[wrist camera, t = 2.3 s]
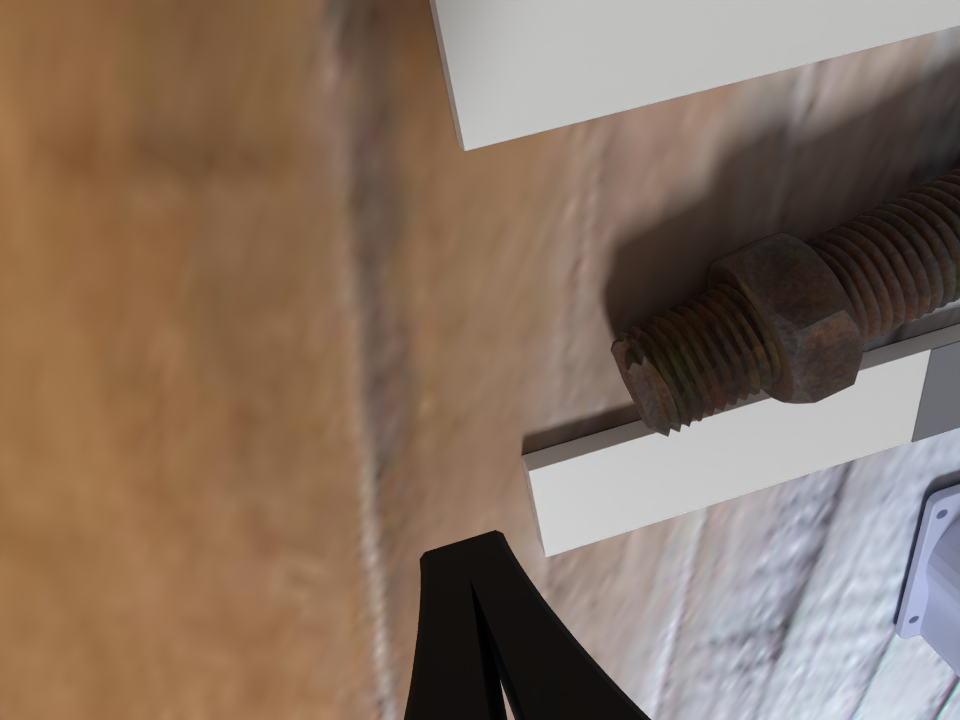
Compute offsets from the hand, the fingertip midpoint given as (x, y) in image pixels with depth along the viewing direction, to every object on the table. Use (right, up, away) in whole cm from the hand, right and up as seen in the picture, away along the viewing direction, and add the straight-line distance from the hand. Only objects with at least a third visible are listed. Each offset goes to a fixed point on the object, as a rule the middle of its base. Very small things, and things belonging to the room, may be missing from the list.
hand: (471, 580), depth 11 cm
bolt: (+11, +8, +9) cm, 16 cm away
